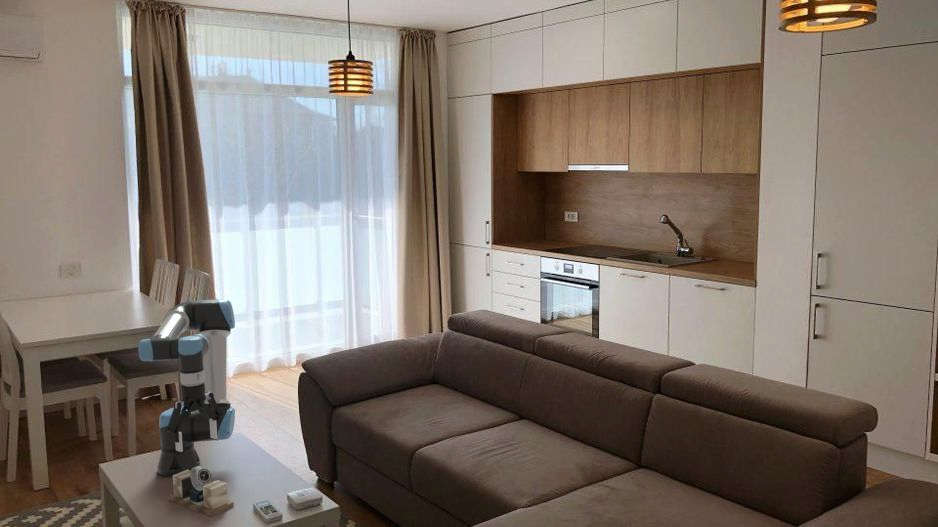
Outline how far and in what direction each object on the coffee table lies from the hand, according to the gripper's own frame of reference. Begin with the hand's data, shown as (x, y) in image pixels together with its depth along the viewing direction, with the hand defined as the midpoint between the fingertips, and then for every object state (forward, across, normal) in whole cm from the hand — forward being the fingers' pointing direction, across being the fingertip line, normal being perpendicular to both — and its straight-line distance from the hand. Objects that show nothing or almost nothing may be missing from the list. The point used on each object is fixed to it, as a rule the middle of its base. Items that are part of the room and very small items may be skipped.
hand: (197, 444), depth 262 cm
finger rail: (+21, 0, 0) cm, 21 cm away
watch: (+19, 0, 0) cm, 19 cm away
